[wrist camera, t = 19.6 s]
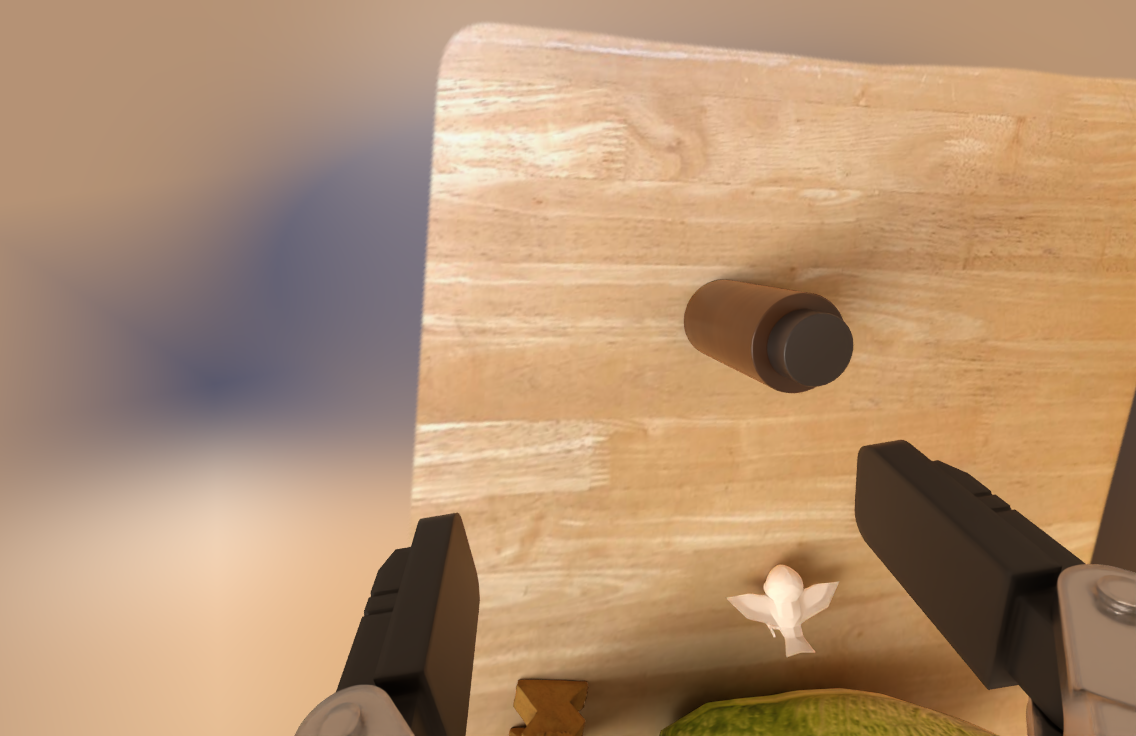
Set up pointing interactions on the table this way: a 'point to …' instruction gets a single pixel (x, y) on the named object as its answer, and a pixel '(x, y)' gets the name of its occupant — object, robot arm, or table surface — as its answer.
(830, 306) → the pepper mill
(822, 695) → the lettuce
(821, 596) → the toy bird
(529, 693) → the figurine
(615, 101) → the table surface
